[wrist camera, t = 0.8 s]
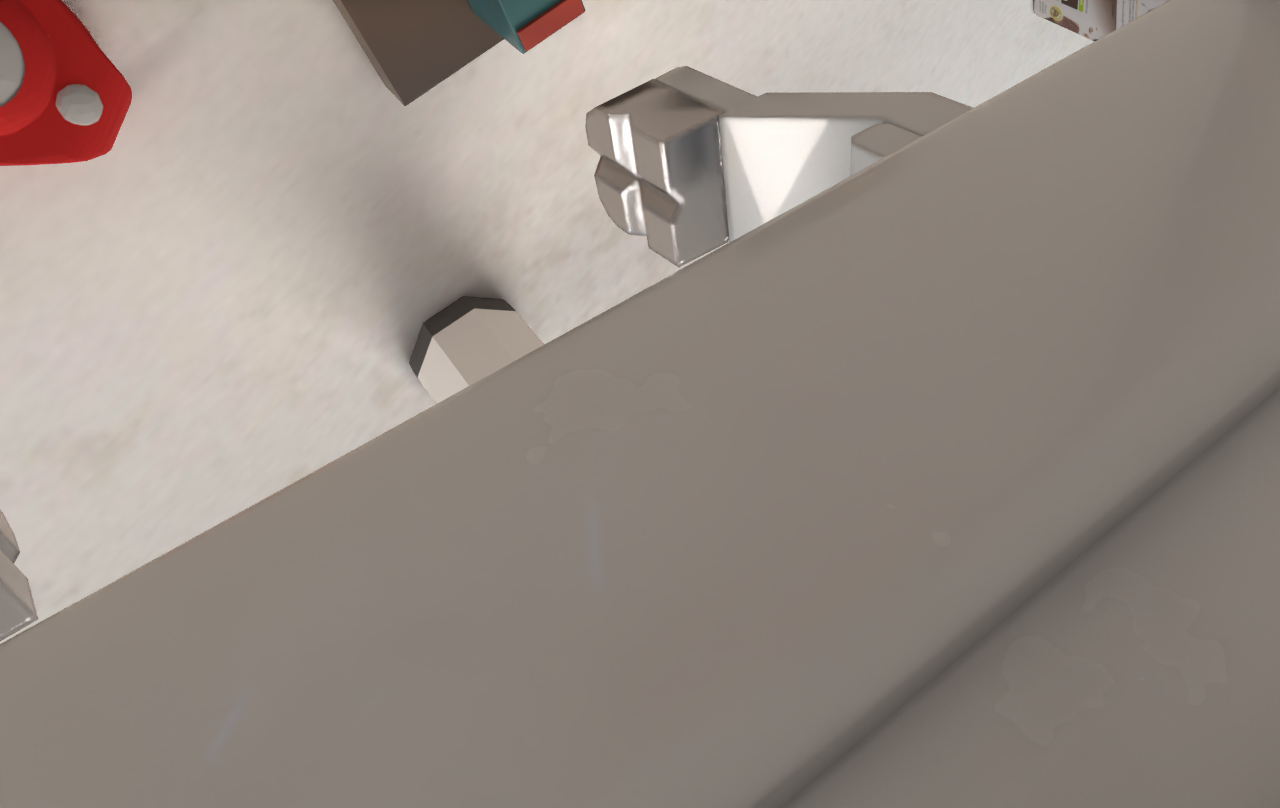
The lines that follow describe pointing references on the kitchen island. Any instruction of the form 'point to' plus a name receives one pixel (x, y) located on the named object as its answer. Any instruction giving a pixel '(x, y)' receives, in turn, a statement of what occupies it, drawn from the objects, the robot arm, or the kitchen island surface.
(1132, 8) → the coffee box
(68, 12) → the tracker holder
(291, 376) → the kitchen island surface
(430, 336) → the wine bottle
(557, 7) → the teal rectangular block
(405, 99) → the brown wooden base board
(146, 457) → the kitchen island surface
